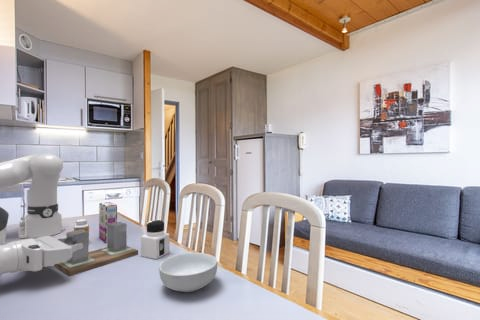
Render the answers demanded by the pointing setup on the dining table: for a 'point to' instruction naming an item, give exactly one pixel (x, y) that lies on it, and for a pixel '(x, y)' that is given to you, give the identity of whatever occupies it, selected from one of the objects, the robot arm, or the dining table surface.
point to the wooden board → (96, 260)
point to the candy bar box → (106, 218)
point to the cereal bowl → (188, 271)
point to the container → (155, 240)
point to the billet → (116, 237)
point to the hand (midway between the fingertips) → (76, 242)
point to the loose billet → (78, 237)
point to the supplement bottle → (82, 226)
